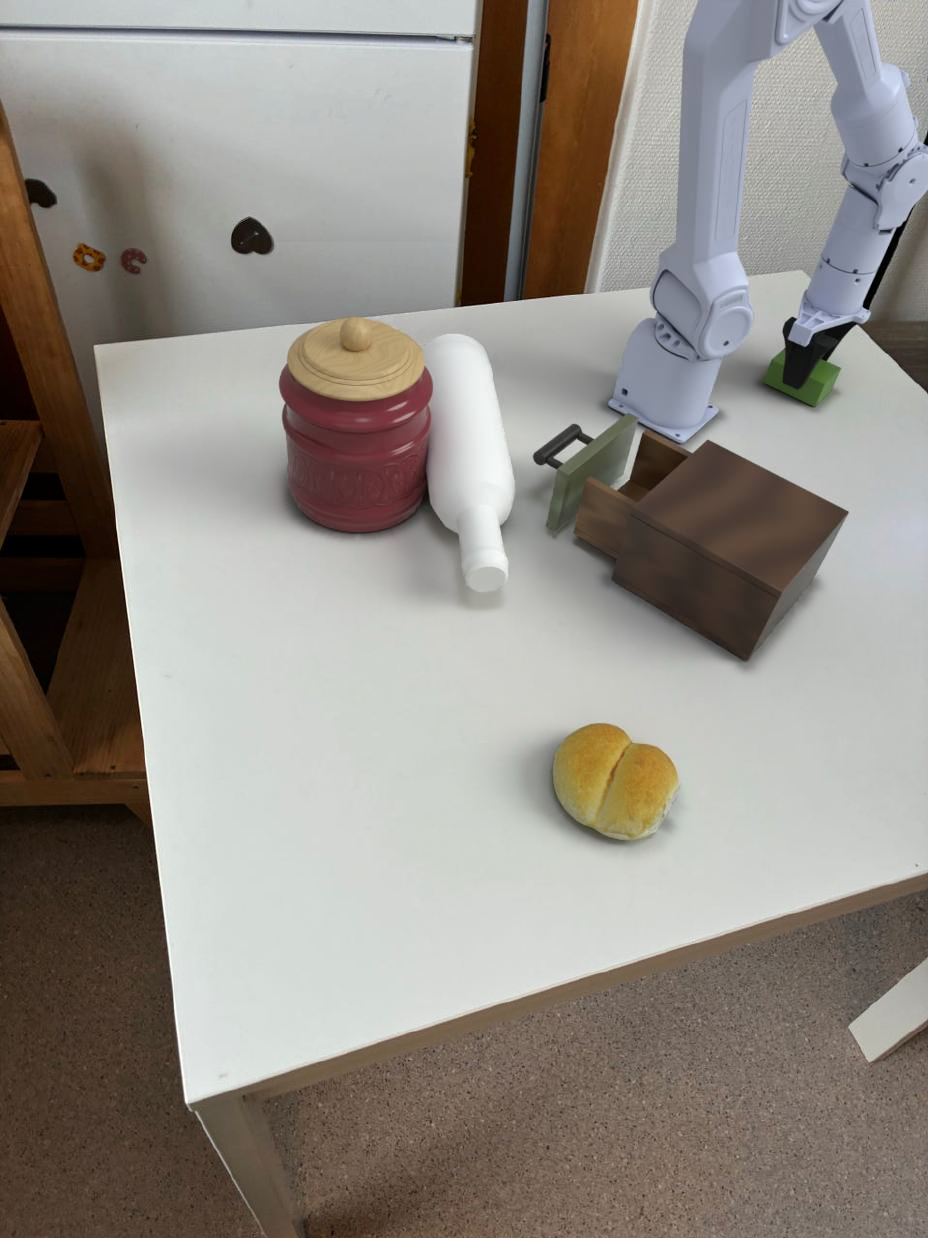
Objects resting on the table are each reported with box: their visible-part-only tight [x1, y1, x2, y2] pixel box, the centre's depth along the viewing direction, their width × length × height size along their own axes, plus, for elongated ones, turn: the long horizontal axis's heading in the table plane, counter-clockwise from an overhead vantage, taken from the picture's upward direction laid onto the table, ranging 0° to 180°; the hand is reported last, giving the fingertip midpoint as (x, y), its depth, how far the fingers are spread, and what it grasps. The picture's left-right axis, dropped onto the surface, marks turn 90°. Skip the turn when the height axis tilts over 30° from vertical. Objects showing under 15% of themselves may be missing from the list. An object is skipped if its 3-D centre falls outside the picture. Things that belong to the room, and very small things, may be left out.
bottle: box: [421, 333, 517, 593], centre depth 83 cm, size 8×8×30 cm
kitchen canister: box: [278, 316, 433, 533], centre depth 78 cm, size 13×13×18 cm
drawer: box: [532, 413, 693, 560], centre depth 81 cm, size 17×11×7 cm
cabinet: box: [611, 439, 850, 662], centre depth 77 cm, size 14×13×9 cm
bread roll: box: [552, 722, 682, 841], centre depth 64 cm, size 8×9×4 cm
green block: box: [762, 347, 842, 408], centre depth 101 cm, size 6×4×3 cm
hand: (801, 375), depth 101 cm, fingers closed on green block, 4 cm apart
